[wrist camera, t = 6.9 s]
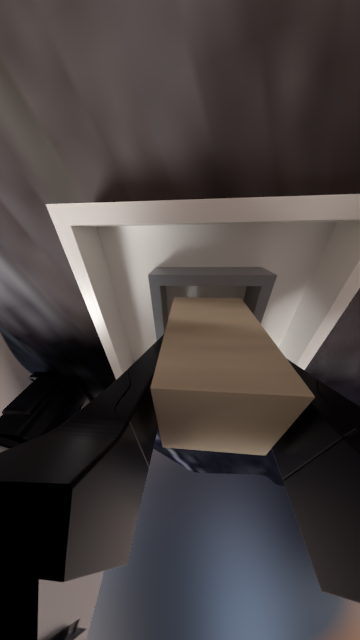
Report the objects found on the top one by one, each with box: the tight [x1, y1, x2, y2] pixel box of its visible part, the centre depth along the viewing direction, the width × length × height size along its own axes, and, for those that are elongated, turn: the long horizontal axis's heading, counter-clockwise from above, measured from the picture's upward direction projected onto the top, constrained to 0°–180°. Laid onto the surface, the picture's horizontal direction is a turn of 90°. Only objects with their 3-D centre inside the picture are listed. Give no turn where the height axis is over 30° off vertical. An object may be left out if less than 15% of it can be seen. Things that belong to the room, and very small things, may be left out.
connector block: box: [150, 297, 315, 455], centre depth 7 cm, size 4×4×6 cm
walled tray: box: [46, 194, 360, 380], centre depth 10 cm, size 13×15×3 cm
